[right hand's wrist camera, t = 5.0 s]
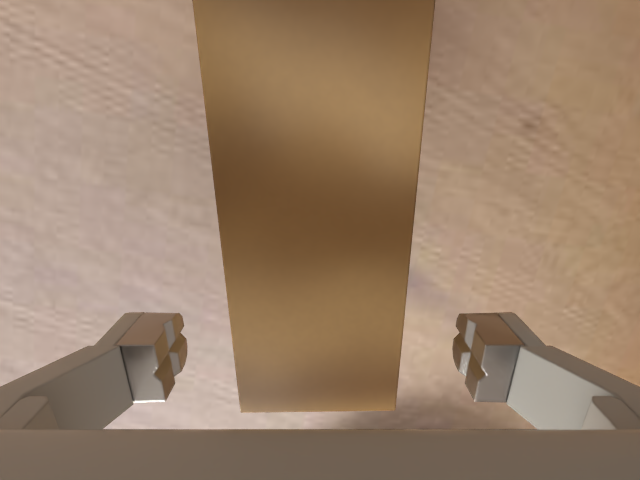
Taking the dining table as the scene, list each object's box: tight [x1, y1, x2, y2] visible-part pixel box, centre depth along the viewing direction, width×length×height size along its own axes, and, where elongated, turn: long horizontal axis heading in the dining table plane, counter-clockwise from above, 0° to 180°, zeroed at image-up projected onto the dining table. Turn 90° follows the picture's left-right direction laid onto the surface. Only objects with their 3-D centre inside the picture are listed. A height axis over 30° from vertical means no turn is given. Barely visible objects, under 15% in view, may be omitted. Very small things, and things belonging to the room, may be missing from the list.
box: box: [193, 0, 435, 413], centre depth 14 cm, size 28×6×13 cm, turn 0°
